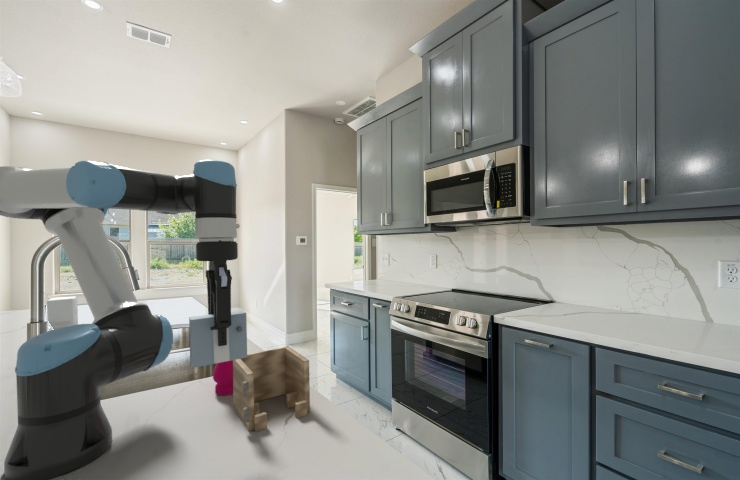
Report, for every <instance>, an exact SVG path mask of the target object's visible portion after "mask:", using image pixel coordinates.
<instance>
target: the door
mask: <svg viewBox="0 0 740 480" xmlns="http://www.w3.org/2000/svg"><path fill="white" fill-rule="evenodd" d="M188 319H189V321H188V322H189V325H188V326H189V327H188V328H189V363H190V367H191V369H195V368H199V367H204V366H210V365H216V364H217V363H214V342H213V330H211V329H210V327H213V326H214V314H210V315H208V314H203V315H196V316H190V317H188ZM231 323H232V324H231V326H229V355H230V361H231V360H236V359H241V358H246V357H247V354H248V336H247V335H248V327H247V326H248V325H247V312H246V311H245V310H235V311H231ZM225 362H226V361H225ZM220 363H221V362H220Z"/></svg>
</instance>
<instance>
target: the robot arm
mask: <svg viewBox="0 0 740 480" xmlns="http://www.w3.org/2000/svg"><path fill="white" fill-rule="evenodd" d="M192 172H193V174H189V175H181V176H180V175H172V174H165V173H160V172H155V171H149V170H144V169H141V170H140V169H136V168H132V167H126V166H121V165H116V164H112V163H109V162H106V161H92V160H80V161H77V162H75V164H74V165H73V166H71V167H61V168H59V167H58V168H45V169H34V168H28V167H23V166H22V167H20V166H7V165H5V166H0V216H1V217H6V218H13V219H20V220H21V219H23V220H41V221H42V224H43V226H44V228H45V230H46V232H48V233H50V234H53V235H56V236H57V238H58V239H59V242H60V244H61V247H62V248H63V250H64V253H65V256H66V257H67V260H68V263H69V264H70V266H71V269H72V272H73V274H74V275H75V277H76V280H77V282H78V284H79V287H80V290H81V291H82V294H83V296H84V298H85V301H86V303H87V305H88V307H89V310H90V311H91V312H90V313H91V314H92V316H93V321H92V323H81V324H80V323H78V325H74V326H70V327H62V328H58V329H54V330H51V331H48V330H47V331H45V332H42V333H40V334H39V333H38V334H37V335H35V336H33V337H31V338H29V339H27V340H26V341H25V342H23V343H22V344H21V345H20V346H19V348H18V350H17V354H16V356H17V357H16V363H15V364H16V365H15V368H14V373H15V375H16V376H15V377H16V401H17V402H16V405H17V408H16V410H17V426H16V430H15V432H14V435H13V437H12V440H11V443H10V446H9V448H8V450H7V453H6V456H5V458H4V461H3V462H4V463H3V467H4V468H3V469H4V470H3V472H4V478H5V479H6V480H47V479H51V478H55V477H59V476H62V475H64V474H67V473H69V472H72V471H74V470H78V469H79V468H81V467H83V466H85V465H88V464H89V463H91V462H92V461H94V460H96V459H98V458H99V457H100V456H101V455H103V454H104V453H105V452H106V451H107V450H108V449H109V448H110V446H111V445H112V443H113V429H112V426H111V424H110V422H109V421H110V420H109V419H108V417H107V415H106V412H105V411H104V409H103V406H102V403H101V388H102V387H104V386H107V385H109V384H112V383H114V382H117V381H120V380H122V379H125V378H128V377H131V376H133V375H136V374H138V373H141V372H146V371H149V370H150V369H151V368H154V367H156V366H158V365H160V364H162V363H163V362H165V360H167V358H168V357H169V356H170V353H171V351H172V346H173V344H174V330H173V328H172V327H173V326H172V325H171V323H170V321H169V320H168V318H167V317H165V316H163V315H160V314H153V313H152V311H151V310H150V307H149V306H148V304H145V303H142V302H139V301H138V300H137V298H136V296H135V293H134V291H133V289H132V286H131V285H130V283H129V280H128V279H127V276H126V275H125V272H124V270H123V268H122V266H121V264H120V262H119V259H118V257H117V255H116V253H115V251H114V249H113V247H112V245H111V243H110V241H109V239H108V237H107V234H106V232H105V230H104V228H103V226H102V223H103V222H104V221H105V218H106V215H107V213H108V210H109V209H111V210H113V209H114V210H129V211H130V210H132V211H133V210H135V211H142V212H143V211H144V212H155V213H157V214H162V215H177V214H184V213H195V214H194V229H195V235H194V236H195V239H197V240H198V242H196V244H195V255H196V257H195V258H196V261H198V262H209V263H208V269H205V278H206V290H207V313H208V314H207V315H210V314H214V326H213V327H210V329H211V330H213V342H214V363H216V364H217V363H220V362H225V361H230V355H229V326H231V324H232V323H231V312H232V280H233V277H232V275H231V270H230V269H228V263H227V261H235V260H237V259H238V258H239V257H238V255H239V254H238V252H239V251H238V247H239V246H238V242H237V241H236V240H235V239H236V238H238V230H237V229H240V227H241V226H240V223H237V215H238V214H237V185H238V184H237V180H236V179H237V178H236V171H235V167H234V165H233V164H231V163H230V162H226V161H221V160H218V159H217V160H215V159H204V160H203V159H201V160H198V161H196V162H195V163H194V164H193V170H192Z"/></svg>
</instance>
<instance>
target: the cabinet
mask: <svg viewBox="0 0 740 480" xmlns="http://www.w3.org/2000/svg"><path fill="white" fill-rule="evenodd" d="M310 389H311V388H310V359H308V358H307V357H305V356H304V355H302V354H301V353H299V352H298V351H296V350H294V348H292V347H290V346H282V347H278V348H277V347H276V348H272V349H268V350H263V351H258V352H252V353H247V357H246V358H241V359H236V360H233V394H232V395H233V408H234V410H235V411H236V412H235V413H237V416H239V418H240V419H241V421H242V422H243V425H244V426H245V427H246V430H247V431H248V432H251V431H253V430H254V431H255V432H258V431H262V430H264V429H268V414H267V412H266V411H263V412H260V403H259V402H260V401H264V400H267V399H271V398H275V397H278V396H279V397H280V396H281V395H285V396H286V397H285V399H286V400H285V401H286V402H285V403H286V404H285V405H286V408H287V409H290V408H294V407H295V408H294V410H295V411H294V415H295V418H296V419H298V418H301V417H305V416H307V415H308V413H309V412H311V405H310V404H311V403H310V402H311V399H310V397H311V396H310V394H311V393H310Z"/></svg>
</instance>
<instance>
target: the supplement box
mask: <svg viewBox="0 0 740 480" xmlns="http://www.w3.org/2000/svg"><path fill="white" fill-rule="evenodd" d="M46 306H47V307H46V309H47V310H46V311H47V322H48V321H49V323H50V324H51V326H52V327H53V329H58V328H62V327H70V326H74V325H78V324H79V318H78V317H79V315H78V312H79V311H78V296H77V295H75V296H71V295H70V296H62V297H61V296H59V297H52V298H50V299H47V300H46Z"/></svg>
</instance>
